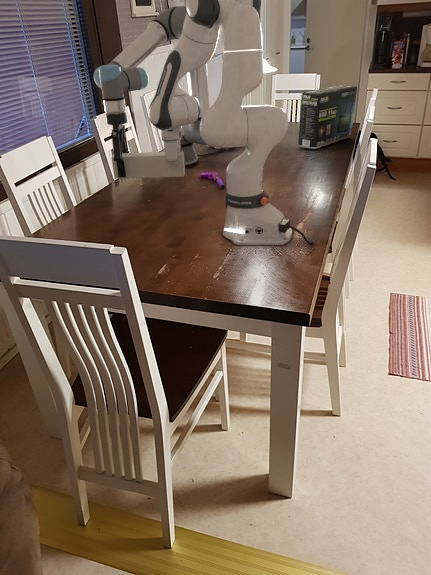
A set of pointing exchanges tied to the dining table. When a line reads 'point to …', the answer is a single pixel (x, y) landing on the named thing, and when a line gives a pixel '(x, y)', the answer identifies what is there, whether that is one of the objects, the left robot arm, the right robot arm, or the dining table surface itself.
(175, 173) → the bar
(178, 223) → the dining table surface
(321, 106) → the router box
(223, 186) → the handgun
